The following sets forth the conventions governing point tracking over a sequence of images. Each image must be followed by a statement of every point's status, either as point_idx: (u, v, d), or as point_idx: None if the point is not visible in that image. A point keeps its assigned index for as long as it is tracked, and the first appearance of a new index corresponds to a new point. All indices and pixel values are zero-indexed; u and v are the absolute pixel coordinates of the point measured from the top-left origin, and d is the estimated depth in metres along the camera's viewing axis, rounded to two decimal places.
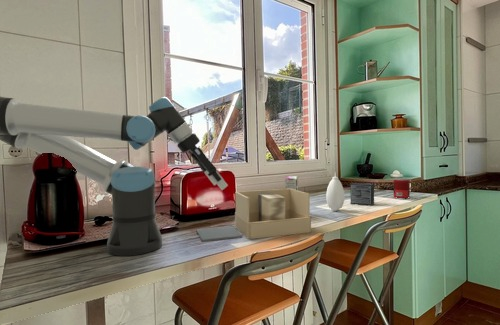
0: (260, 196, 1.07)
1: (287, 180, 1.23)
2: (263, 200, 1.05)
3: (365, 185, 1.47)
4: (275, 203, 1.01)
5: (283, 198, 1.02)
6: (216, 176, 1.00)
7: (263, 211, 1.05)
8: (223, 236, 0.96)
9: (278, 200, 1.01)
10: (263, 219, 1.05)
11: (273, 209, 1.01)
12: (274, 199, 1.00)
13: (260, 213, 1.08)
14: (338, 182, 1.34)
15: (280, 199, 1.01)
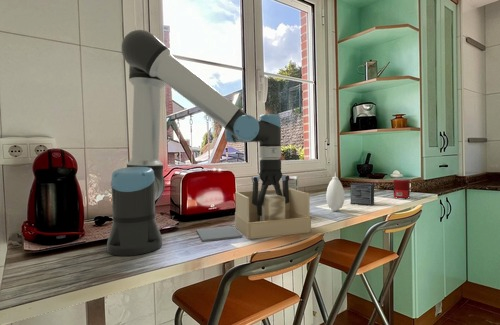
0: None
1: None
2: None
3: (365, 185, 1.47)
4: (275, 203, 1.01)
5: (283, 198, 1.02)
6: (257, 210, 1.05)
7: None
8: (223, 236, 0.96)
9: (278, 200, 1.01)
10: None
11: (273, 209, 1.01)
12: (274, 199, 1.00)
13: None
14: (338, 182, 1.34)
15: (280, 199, 1.01)
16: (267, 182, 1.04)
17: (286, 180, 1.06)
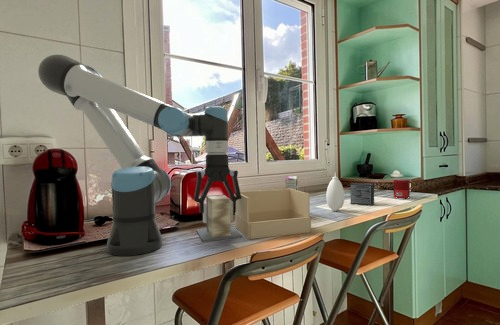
0: (207, 197, 1.02)
1: (287, 180, 1.23)
2: (208, 202, 0.99)
3: (365, 185, 1.47)
4: (219, 205, 0.95)
5: (228, 200, 0.96)
6: None
7: (209, 213, 1.00)
8: (223, 236, 0.96)
9: (222, 202, 0.96)
10: (209, 221, 1.00)
11: (217, 211, 0.95)
12: (218, 201, 0.95)
13: (207, 215, 1.03)
14: (338, 182, 1.34)
15: (225, 201, 0.96)
16: (212, 178, 0.98)
17: (235, 175, 1.01)
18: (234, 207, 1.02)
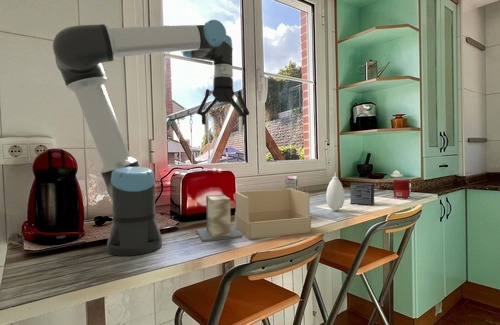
0: (207, 197, 1.02)
1: (287, 180, 1.23)
2: (208, 202, 0.99)
3: (365, 185, 1.47)
4: (219, 205, 0.95)
5: (228, 200, 0.96)
6: (202, 119, 1.13)
7: (209, 213, 1.00)
8: (223, 236, 0.96)
9: (222, 202, 0.96)
10: (209, 221, 1.00)
11: (217, 211, 0.95)
12: (218, 201, 0.95)
13: (207, 215, 1.03)
14: (338, 182, 1.34)
15: (225, 201, 0.96)
16: (217, 97, 1.13)
17: (239, 95, 1.16)
18: (243, 122, 1.17)
